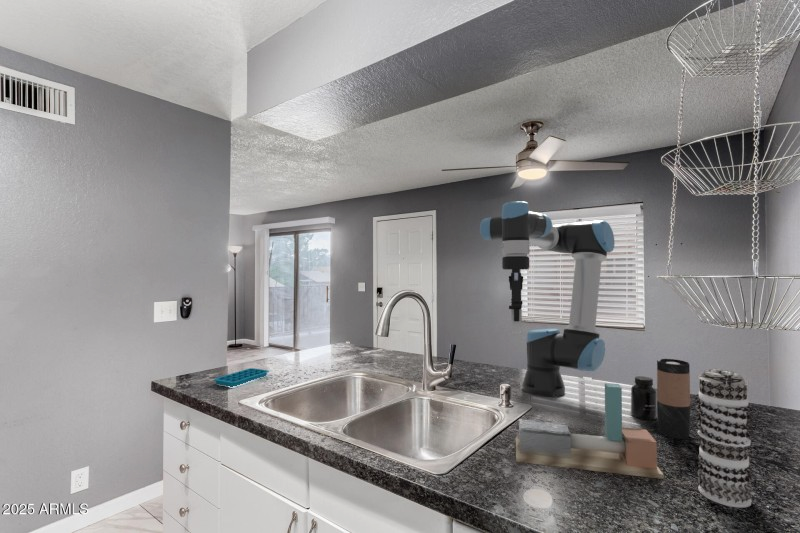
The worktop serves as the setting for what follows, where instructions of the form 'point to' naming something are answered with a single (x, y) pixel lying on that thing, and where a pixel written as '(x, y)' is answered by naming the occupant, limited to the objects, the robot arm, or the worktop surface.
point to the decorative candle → (724, 438)
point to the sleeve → (544, 438)
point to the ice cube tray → (241, 377)
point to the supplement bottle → (644, 399)
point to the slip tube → (606, 426)
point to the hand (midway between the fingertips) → (516, 329)
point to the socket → (639, 448)
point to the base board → (590, 462)
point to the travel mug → (673, 398)
